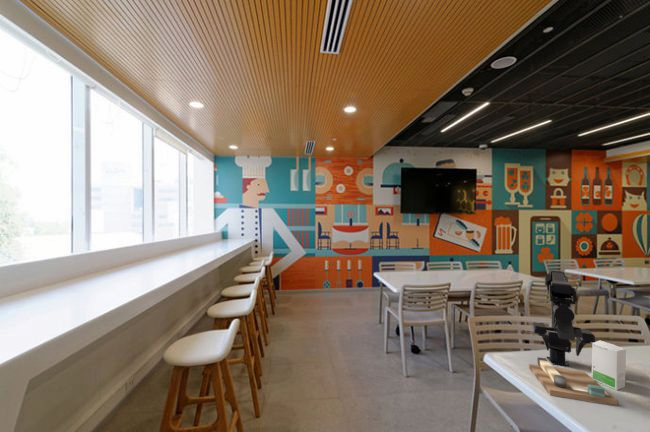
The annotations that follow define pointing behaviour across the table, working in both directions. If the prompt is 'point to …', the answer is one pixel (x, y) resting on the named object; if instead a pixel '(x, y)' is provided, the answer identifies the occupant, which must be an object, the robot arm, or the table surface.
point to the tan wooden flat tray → (574, 386)
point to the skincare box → (608, 364)
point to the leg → (552, 372)
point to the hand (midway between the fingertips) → (562, 352)
